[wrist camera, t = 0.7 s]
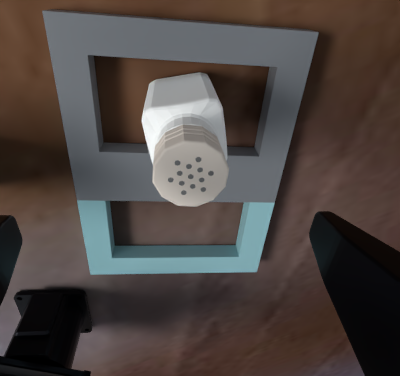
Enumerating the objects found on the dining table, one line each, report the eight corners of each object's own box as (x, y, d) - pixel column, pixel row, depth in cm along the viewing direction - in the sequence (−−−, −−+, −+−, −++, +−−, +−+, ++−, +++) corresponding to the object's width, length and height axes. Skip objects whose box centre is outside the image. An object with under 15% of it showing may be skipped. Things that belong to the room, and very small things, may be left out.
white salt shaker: (208, 68, 19) (235, 122, 11) (215, 126, 21) (241, 206, 13) (146, 78, 19) (130, 140, 11) (159, 136, 21) (153, 221, 13)
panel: (252, 260, 29) (256, 272, 28) (94, 261, 27) (90, 274, 26) (308, 29, 18) (318, 32, 17) (51, 9, 17) (42, 10, 15)
